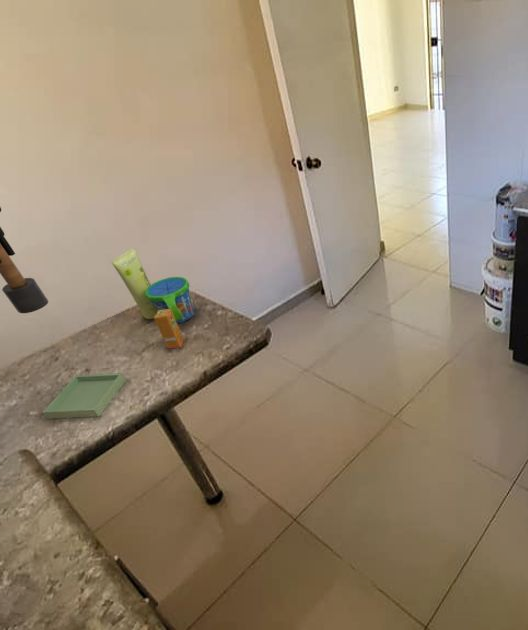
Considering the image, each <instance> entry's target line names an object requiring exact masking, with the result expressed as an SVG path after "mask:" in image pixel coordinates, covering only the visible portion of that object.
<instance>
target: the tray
mask: <svg viewBox="0 0 528 630" xmlns="http://www.w3.org/2000/svg"><path fill="white" fill-rule="evenodd" d="M126 381H127V378H126V376H125V375H124V372H117V373H97V374H77V375H74V377H72V379H70V381H69V382H68V383H67V384H66V385H65V387H64V388H63V389H61V391H60V392H59V393H58V394H57V395H56V396H55V397H54V398H53V400H51V402H50V403H49V404H48V405H47V407H45V409H44V410H43V411H42V414H43V415H44V417H45V418H46V419H47V420H52V419H55V420H56V419H73V418H74V419H75V418H93V417H95V418H96V417H100V416H101V415H102V414H103V412H104V411H105V409H106V408H107V406H108V405H109V404H110V403H111V401H112V400H113V398H114V397H115V396H116V395H117V393H118V392H119V391H120V389H121V388H122V387H123V385H124V384H125V382H126Z"/></svg>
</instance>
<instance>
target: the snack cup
mask: <svg viewBox="0 0 528 630" xmlns="http://www.w3.org/2000/svg"><path fill="white" fill-rule="evenodd" d="M145 294H146V297H147V298H148V299H149V300H150V301H151V302H152V303H153V305H154V306H155V307H156V309H157V310H164V309H171V310H172V313H173V315H174V317H175V320H176V322H177V324H182V323H184V322H186V321H188V320H189V319H191V318H192V317H193V316H194V315H195V308H194V304H193V299H192V295H191V291H190V283H189V281H188V279H187V278H185V277H183V276H172V277H171V276H170V277H166V278H163V279H159V280H157V281H155V282H153V283H151V285H150V286H149V287H148V288H147V289H146V291H145Z"/></svg>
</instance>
